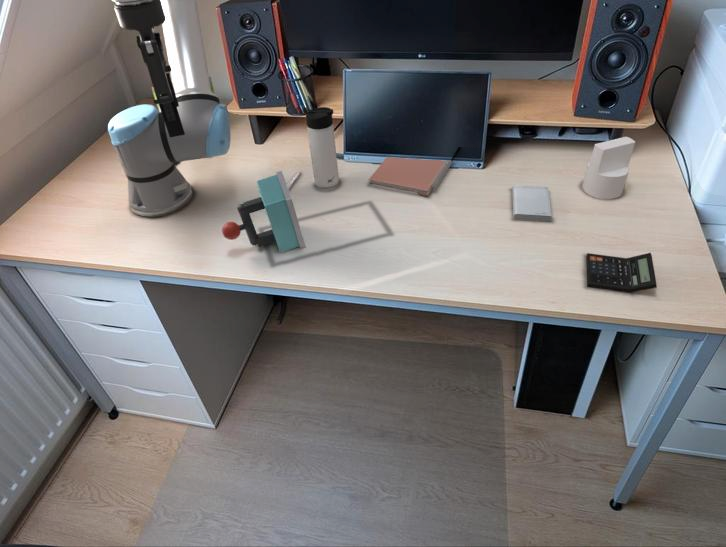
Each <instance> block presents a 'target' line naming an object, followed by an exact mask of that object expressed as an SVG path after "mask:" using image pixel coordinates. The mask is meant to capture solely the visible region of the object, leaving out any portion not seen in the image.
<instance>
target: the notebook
mask: <svg viewBox="0 0 726 547" xmlns="http://www.w3.org/2000/svg"><path fill="white" fill-rule="evenodd" d="M454 161H455V160H453V161H450V160H447V161H441V160H426V159H425V160H423V159H422V160H421V159H406V158H395V157H394V158H393V157H388V156H386V157H385V159H384V160H383V161H382V163H381V164H380V165H379V166H378V167H377V169H375V171H374V172H373V173H372V175H371V176H369V178H368V181H369V182H370V184H372V185H373V184H374V185H379V186H384V187H390V188H394V189H400V190H404V191H410V192H414V193H417V194H418V195H421V196H425V197H426V196H427V197H428V196H429V195H430V194H431V193H432V192H433V193H434V192H435V191H436V190H437V188H438V186H439V185H440V184H441V182H442V180H443V178H444V177H445V176H446V174H447V172H448V171H449V169H450V167H451V166H452V165H453V163H454ZM447 162H448V163H447Z"/></svg>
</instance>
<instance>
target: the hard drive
mask: <svg viewBox="0 0 726 547" xmlns="http://www.w3.org/2000/svg"><path fill="white" fill-rule="evenodd" d="M511 191H512V214H513V216H512V217H513V220H516V221H533V222H546V223H547V222H548V223H549V222H552V219H553V214H552V208H551V207H552V206H551V200H550V191H549V187H548V186H546V185H528V184H527V185H525V184H513V185H512V189H511Z"/></svg>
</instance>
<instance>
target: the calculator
mask: <svg viewBox="0 0 726 547" xmlns="http://www.w3.org/2000/svg"><path fill="white" fill-rule="evenodd" d="M585 261H586V262H585V263H586V264H585V266H586V287H587V288H593V289H598V290H599V289H601V290H606V291H607V290H608V291H614V292H621V293H627V294H630V293H636V292H641V291H646V290H651V289H652V290H653V289H657V288H658V284H657V278H656V273H655V267H654V261H653V255H652V253H651V252H647V253H642V254H639V255H634V256H631V257H621V256H620V257H619V256H613V255H606V254H605V255H604V254H598V253H589V252H587V253H586V257H585Z"/></svg>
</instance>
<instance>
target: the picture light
mask: <svg viewBox="0 0 726 547" xmlns="http://www.w3.org/2000/svg"><path fill="white" fill-rule="evenodd" d="M299 176H300V172H299V171H298V172H297V173H296V174H295V175H294V176H293V178H292V179H291V181H290V182H289V181H288V180H287V179H285V181H286V182H287V183H286V184H287V187H288V190H290V188H291V186H292V185H293V184H294V183H295V181H296V180H297V178H298V177H299Z"/></svg>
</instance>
